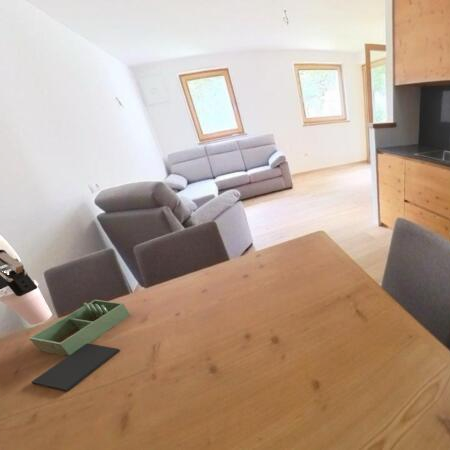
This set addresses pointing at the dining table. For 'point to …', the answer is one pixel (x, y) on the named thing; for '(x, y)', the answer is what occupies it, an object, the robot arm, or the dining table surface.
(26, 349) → the dining table surface
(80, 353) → the mat
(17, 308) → the smoothie
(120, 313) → the rack
